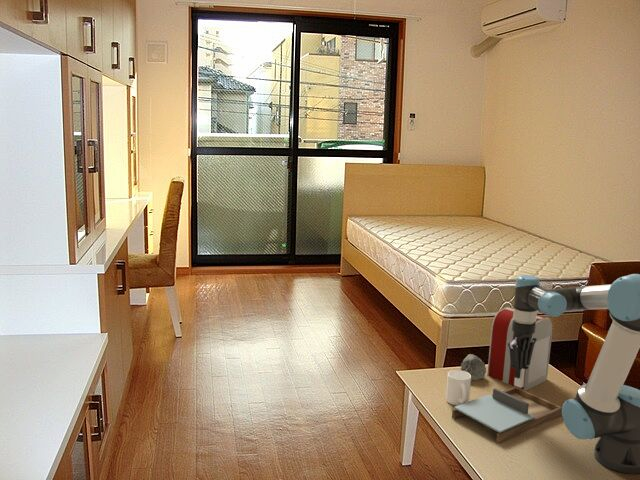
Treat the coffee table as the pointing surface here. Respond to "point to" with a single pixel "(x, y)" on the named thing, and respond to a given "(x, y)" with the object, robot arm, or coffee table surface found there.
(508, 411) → the lid
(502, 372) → the red striped arch block
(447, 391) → the mug
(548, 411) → the brown wooden frame
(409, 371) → the coffee table surface
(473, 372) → the stone
